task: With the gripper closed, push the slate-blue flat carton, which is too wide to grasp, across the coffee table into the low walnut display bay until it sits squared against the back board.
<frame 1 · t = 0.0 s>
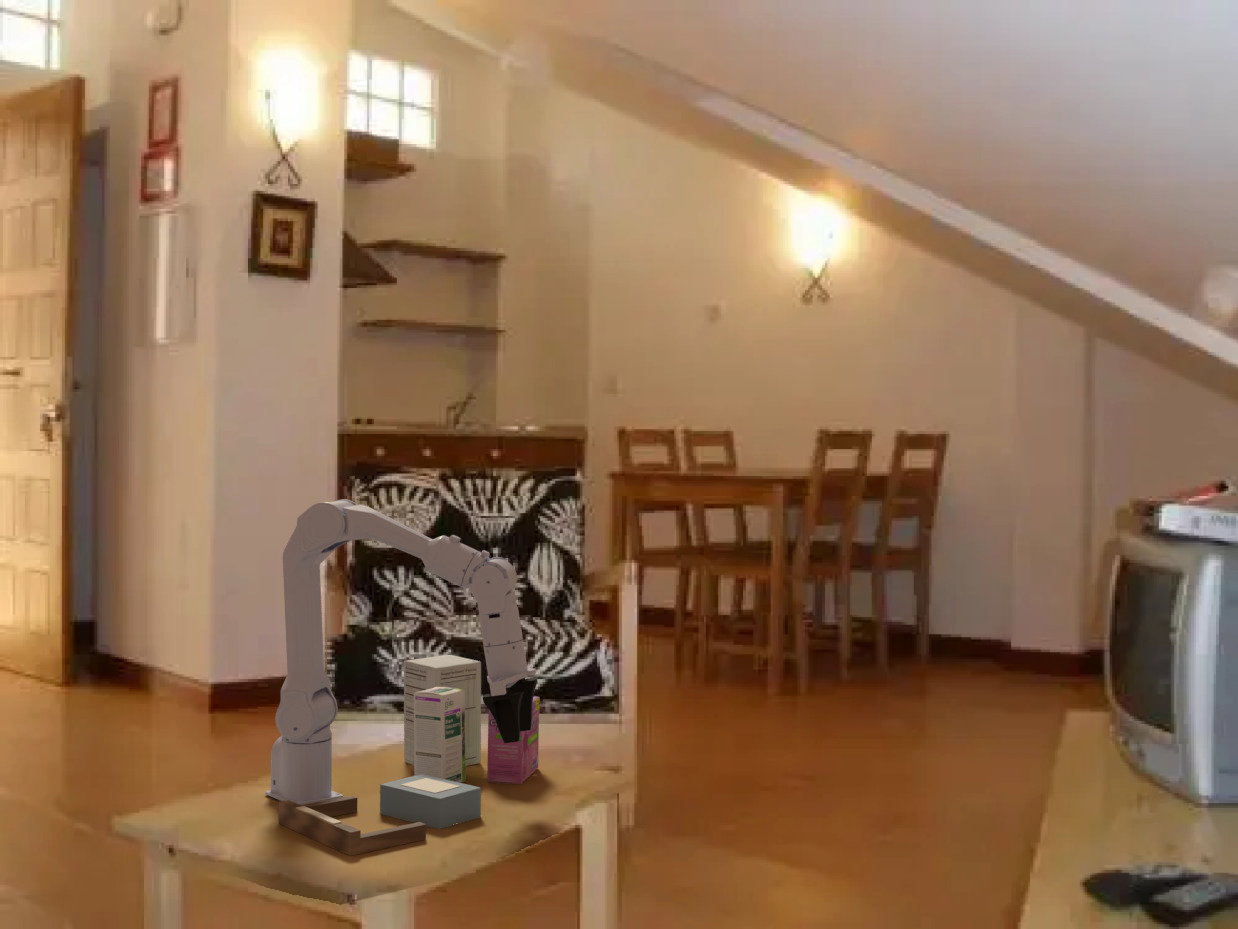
hand: (517, 736, 205), 11 cm above the table, tool pointing down, fingers open, 7 cm apart
carton: (430, 817, 201), on the table
supplement box: (442, 764, 233), on the table
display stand: (349, 831, 193), on the table
box: (513, 777, 225), on the table
syrup box: (439, 785, 219), on the table
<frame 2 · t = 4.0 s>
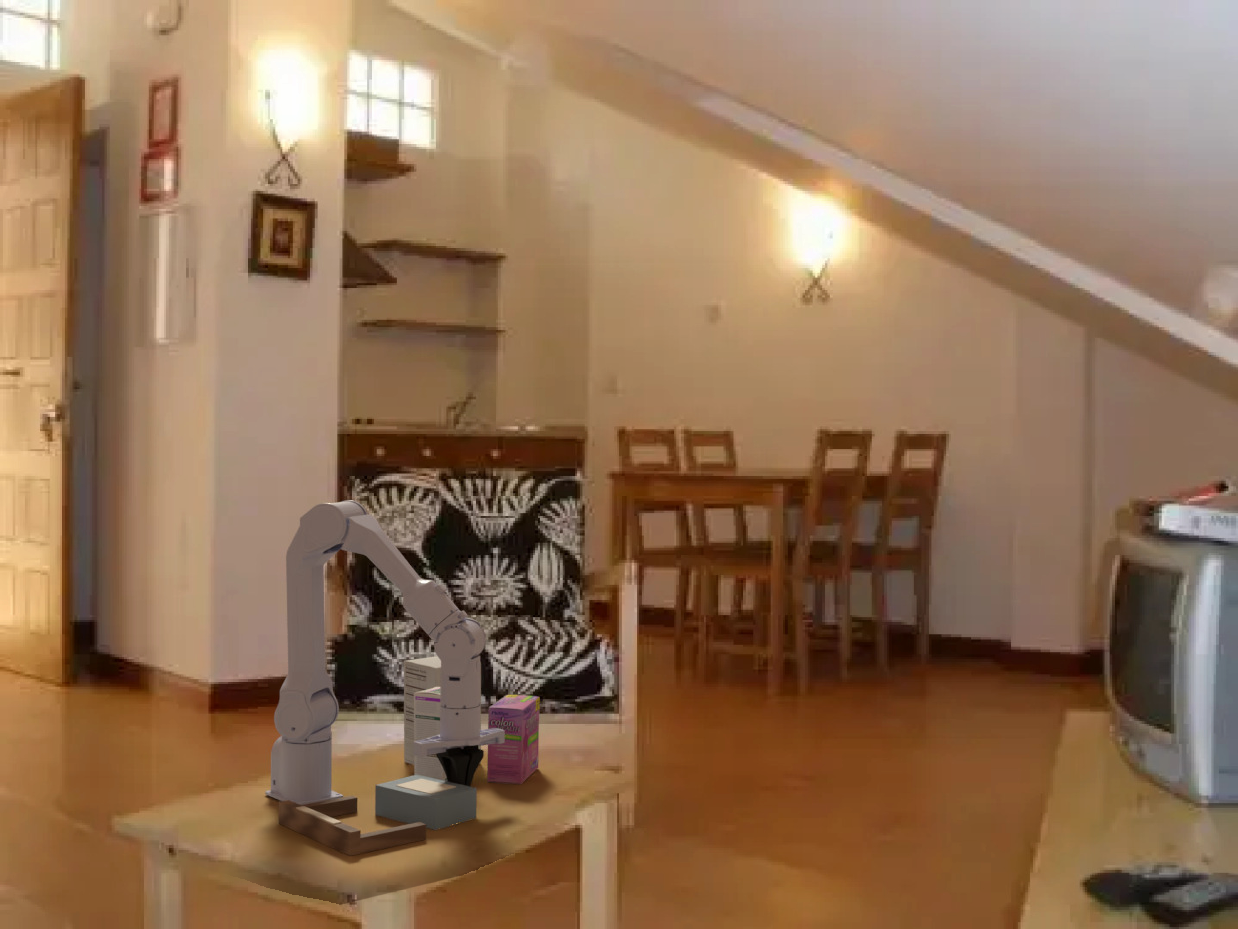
hand: (459, 799, 205), 1 cm above the table, tool pointing down, fingers closed
carton: (425, 818, 201), on the table, touching gripper
everything else where it was.
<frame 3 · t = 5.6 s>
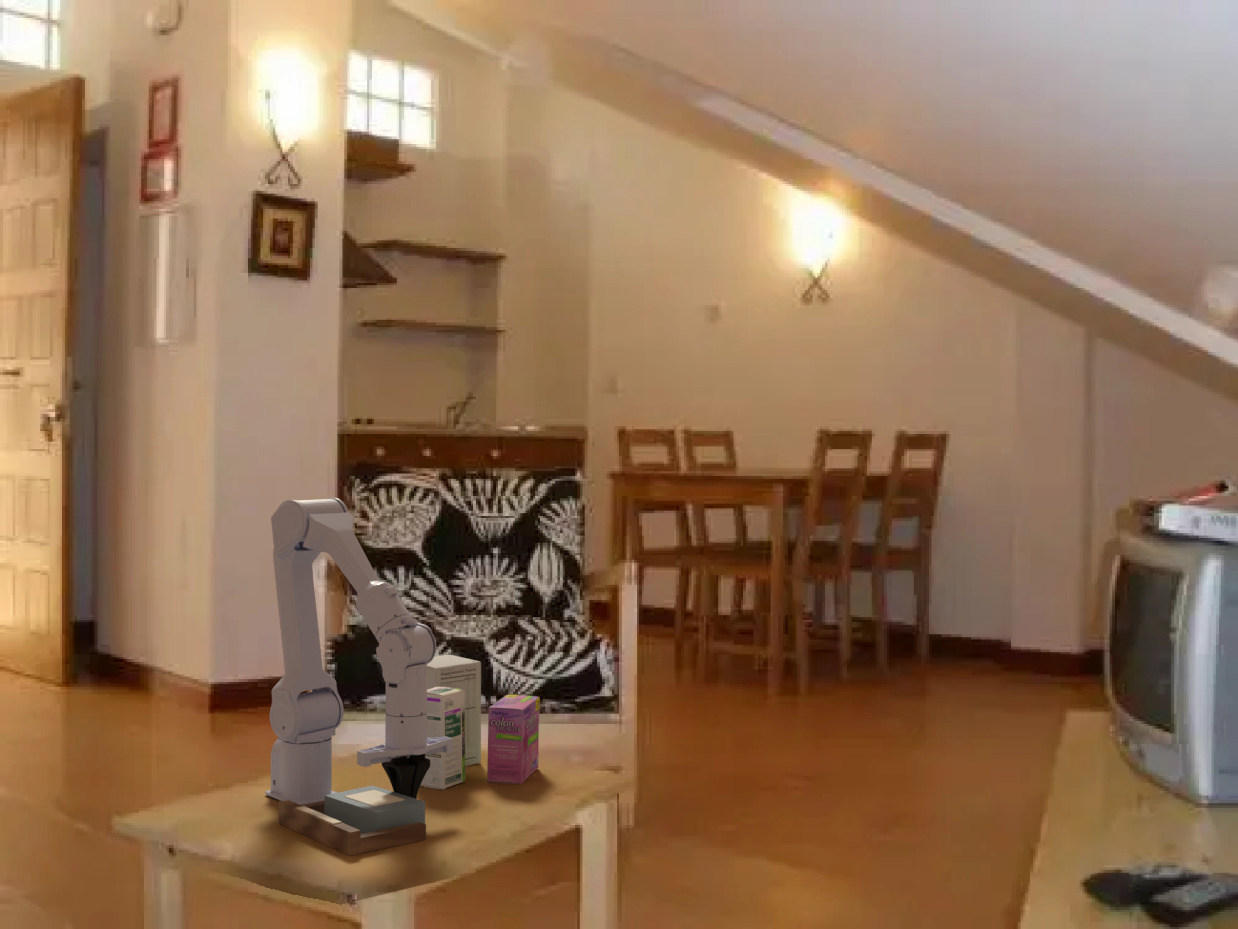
hand: (405, 810, 199), 1 cm above the table, tool pointing down, fingers closed
carton: (374, 831, 195), on the table
everything else where it was.
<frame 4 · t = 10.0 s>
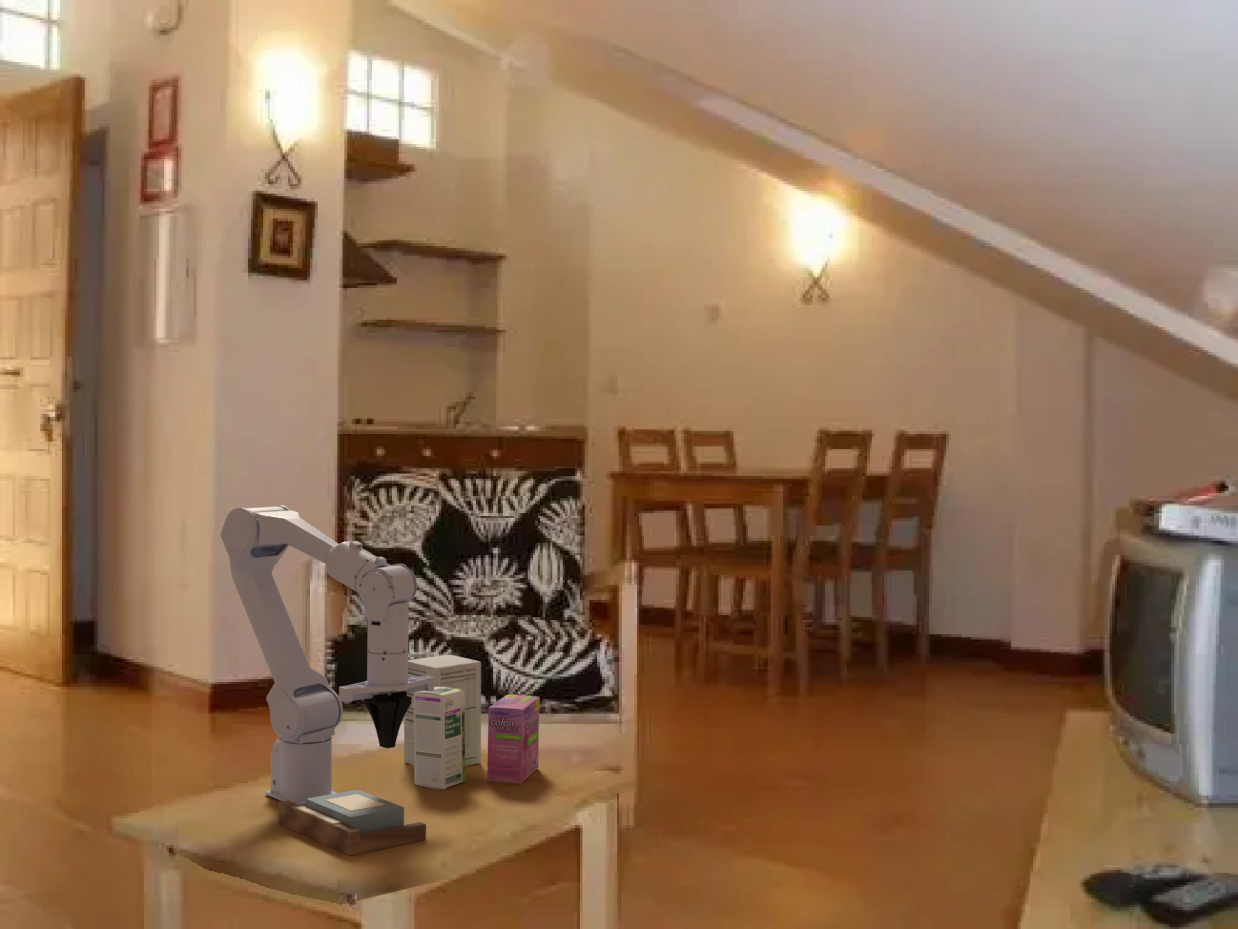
hand: (387, 746, 202), 9 cm above the table, tool pointing down, fingers closed
carton: (354, 836, 192), on the table
everything else where it was.
at the end: carton 1.2 cm from the target spot, on the table; carton tilted 0° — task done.
